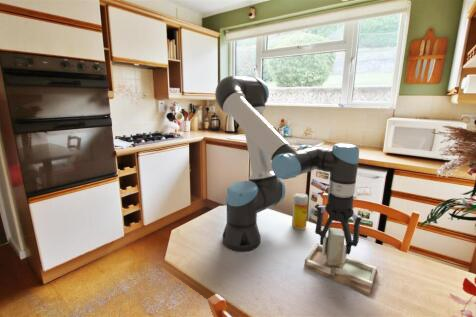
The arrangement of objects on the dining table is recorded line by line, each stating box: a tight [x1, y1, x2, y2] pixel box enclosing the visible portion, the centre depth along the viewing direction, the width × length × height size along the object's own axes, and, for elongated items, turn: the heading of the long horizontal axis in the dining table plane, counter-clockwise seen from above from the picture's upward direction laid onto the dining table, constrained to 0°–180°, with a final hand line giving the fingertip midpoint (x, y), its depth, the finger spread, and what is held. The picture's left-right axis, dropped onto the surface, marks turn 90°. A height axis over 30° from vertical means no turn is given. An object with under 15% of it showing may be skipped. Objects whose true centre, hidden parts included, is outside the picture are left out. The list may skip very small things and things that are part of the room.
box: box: [326, 227, 345, 266], centre depth 82 cm, size 5×4×11 cm
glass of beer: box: [291, 192, 309, 230], centre depth 107 cm, size 6×6×15 cm
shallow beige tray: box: [303, 243, 378, 296], centre depth 83 cm, size 20×13×2 cm, turn 54°
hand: (333, 257), depth 83 cm, fingers closed on box, 6 cm apart
